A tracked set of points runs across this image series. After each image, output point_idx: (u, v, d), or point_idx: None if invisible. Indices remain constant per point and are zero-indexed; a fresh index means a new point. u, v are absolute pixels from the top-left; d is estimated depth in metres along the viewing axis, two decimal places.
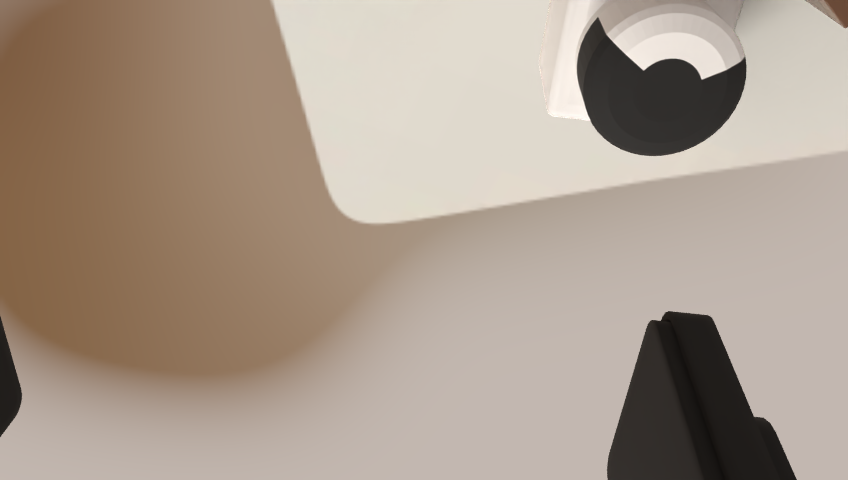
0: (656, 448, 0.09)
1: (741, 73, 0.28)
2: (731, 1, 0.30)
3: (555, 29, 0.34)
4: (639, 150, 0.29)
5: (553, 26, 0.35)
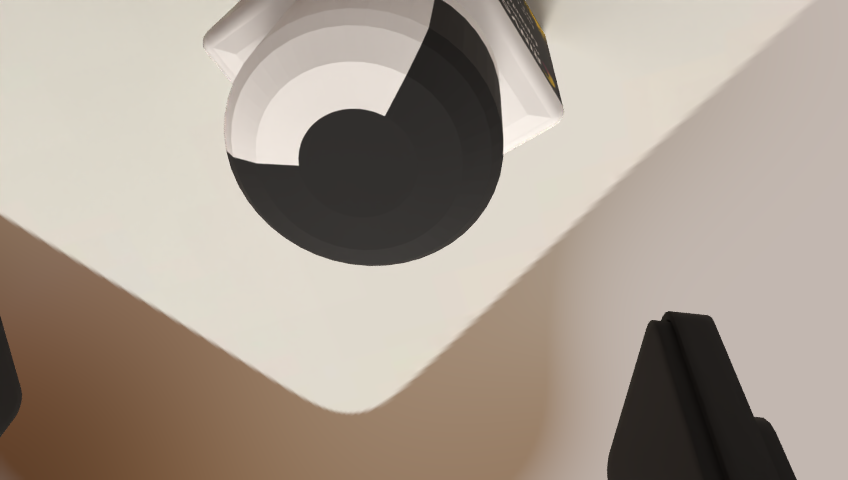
0: (656, 448, 0.09)
1: (441, 57, 0.15)
2: None
3: None
4: (418, 253, 0.17)
5: None
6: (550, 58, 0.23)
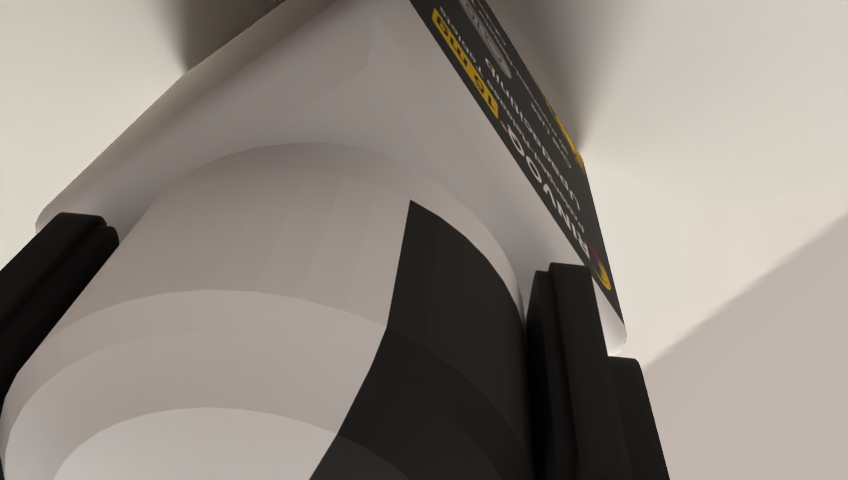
0: (531, 384, 0.10)
1: (413, 390, 0.07)
2: (393, 75, 0.10)
3: None
4: None
5: None
6: (595, 210, 0.15)
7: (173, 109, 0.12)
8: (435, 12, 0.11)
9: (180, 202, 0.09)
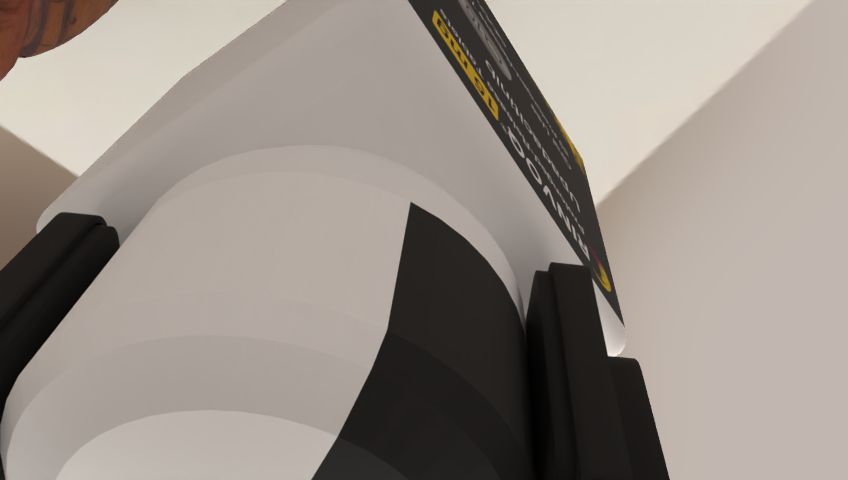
0: (531, 384, 0.10)
1: (414, 393, 0.07)
2: (393, 77, 0.10)
3: None
4: None
5: None
6: (595, 212, 0.15)
7: (174, 111, 0.12)
8: (435, 14, 0.11)
9: (181, 205, 0.09)
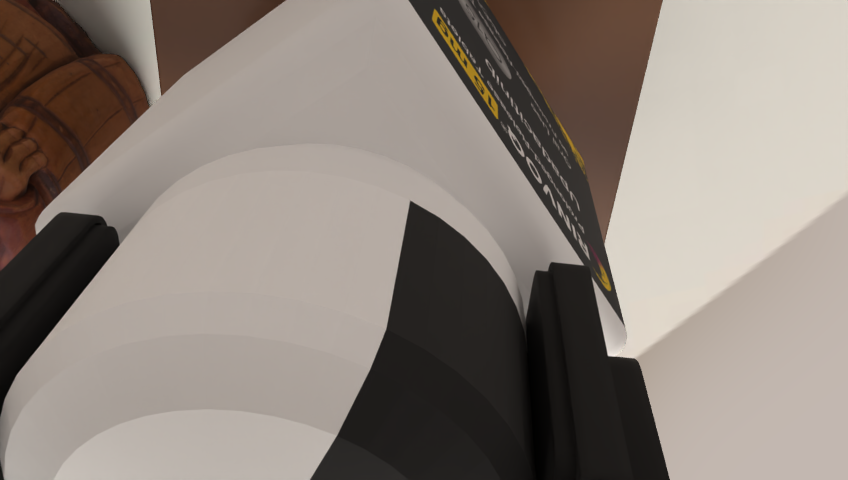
0: (531, 384, 0.10)
1: (413, 392, 0.07)
2: (393, 76, 0.10)
3: None
4: None
5: None
6: (595, 211, 0.15)
7: (173, 110, 0.12)
8: (435, 13, 0.11)
9: (179, 204, 0.09)
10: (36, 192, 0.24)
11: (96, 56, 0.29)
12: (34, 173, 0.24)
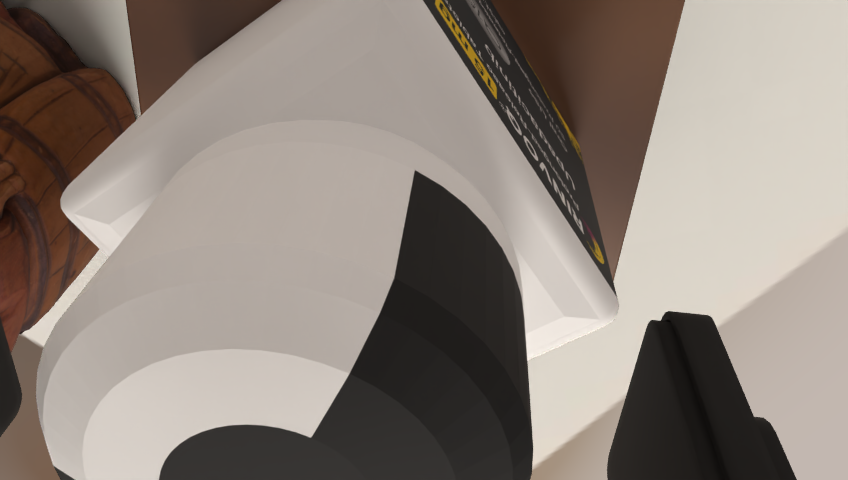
0: (656, 448, 0.09)
1: (418, 335, 0.08)
2: (398, 56, 0.10)
3: None
4: None
5: None
6: (590, 192, 0.16)
7: (190, 91, 0.12)
8: None
9: (201, 172, 0.09)
10: (12, 218, 0.23)
11: (80, 71, 0.28)
12: (10, 198, 0.23)
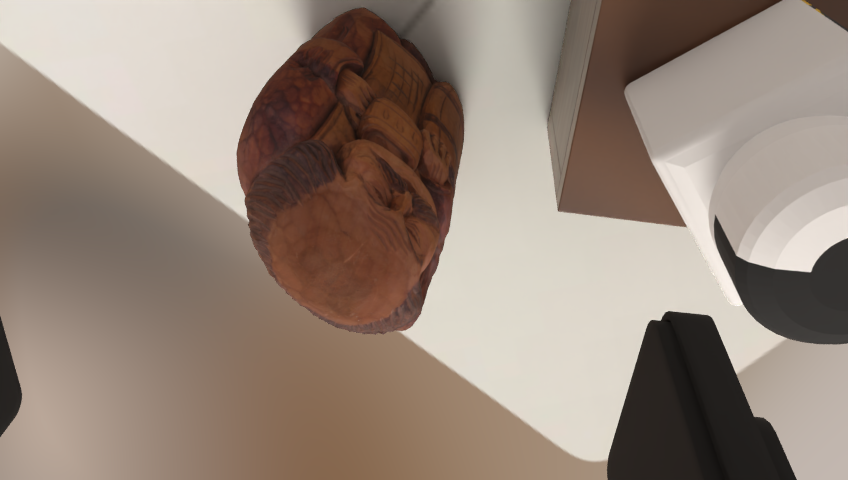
0: (656, 448, 0.09)
1: None
2: None
3: None
4: None
5: None
6: None
7: (722, 100, 0.24)
8: None
9: (801, 137, 0.21)
10: (447, 180, 0.35)
11: (442, 84, 0.40)
12: None
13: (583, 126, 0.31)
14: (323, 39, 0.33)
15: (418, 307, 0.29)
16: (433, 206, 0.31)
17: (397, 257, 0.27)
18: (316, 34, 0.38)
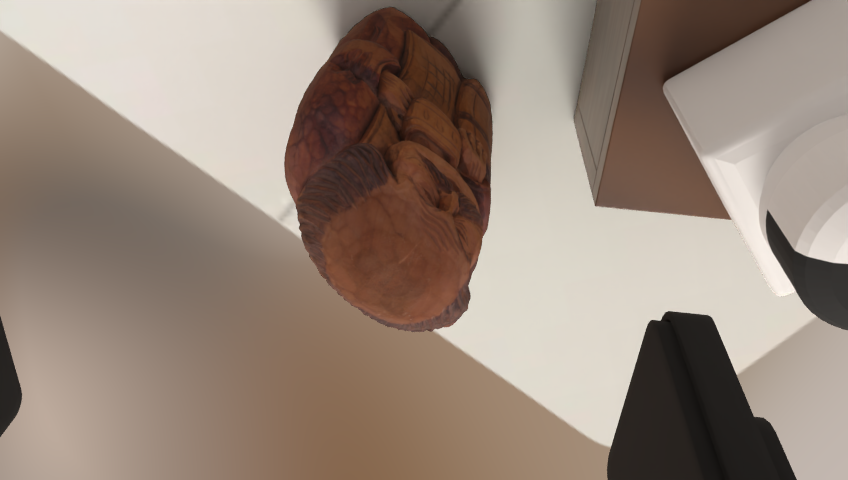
0: (656, 448, 0.09)
1: None
2: None
3: None
4: None
5: (719, 195, 0.29)
6: None
7: (770, 97, 0.25)
8: None
9: None
10: (484, 178, 0.35)
11: (470, 81, 0.40)
12: None
13: (621, 122, 0.32)
14: (361, 41, 0.34)
15: (466, 304, 0.30)
16: (476, 204, 0.31)
17: (449, 256, 0.28)
18: (347, 35, 0.38)
